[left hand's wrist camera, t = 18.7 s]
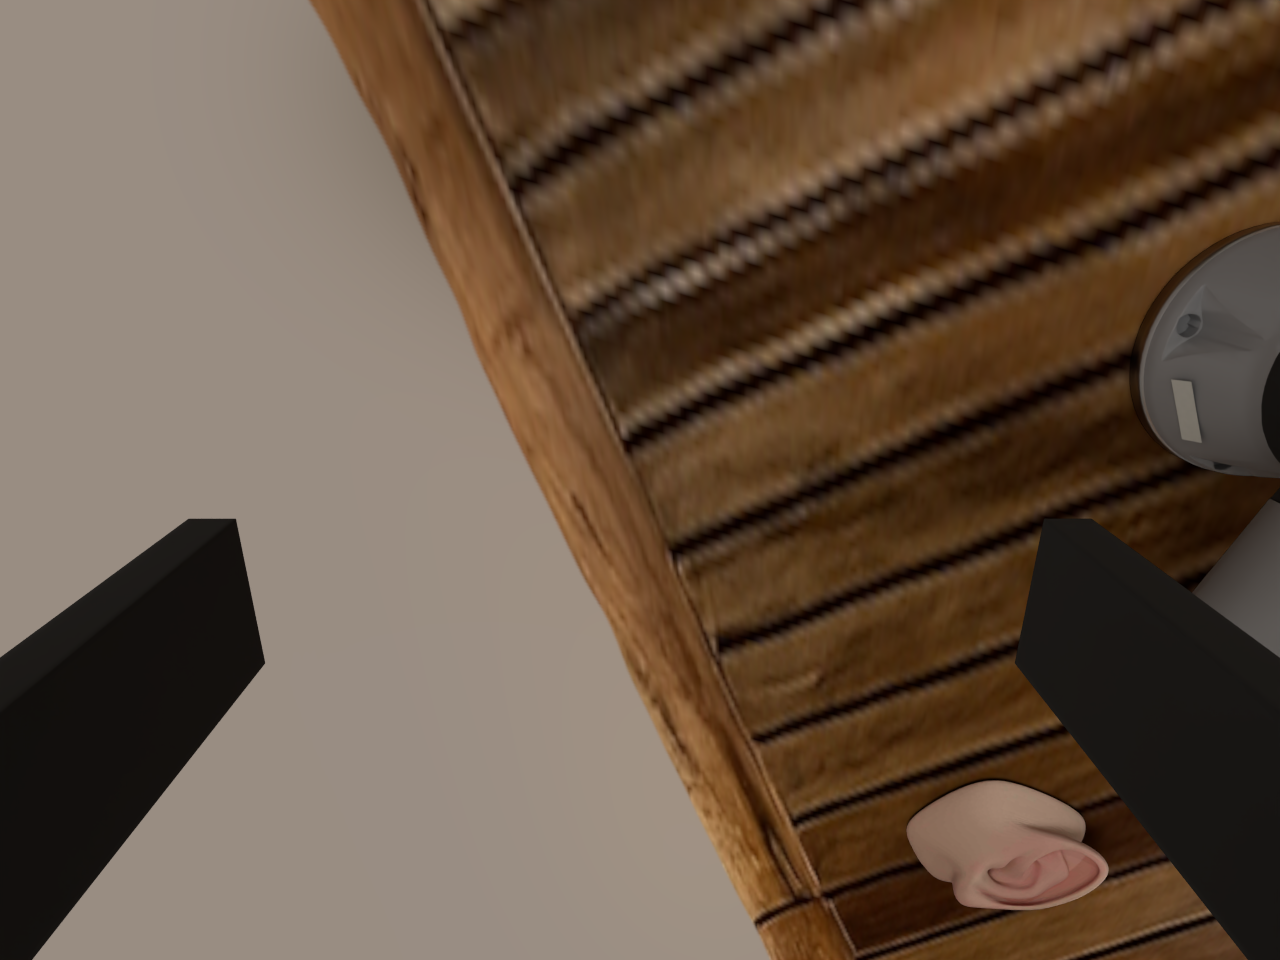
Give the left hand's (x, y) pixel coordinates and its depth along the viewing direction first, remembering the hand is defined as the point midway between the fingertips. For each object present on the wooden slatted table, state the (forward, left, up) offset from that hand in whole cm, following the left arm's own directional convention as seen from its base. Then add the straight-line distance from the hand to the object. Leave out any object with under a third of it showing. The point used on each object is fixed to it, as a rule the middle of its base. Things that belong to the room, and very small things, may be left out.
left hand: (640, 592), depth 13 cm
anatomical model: (-5, +51, -36) cm, 63 cm away
